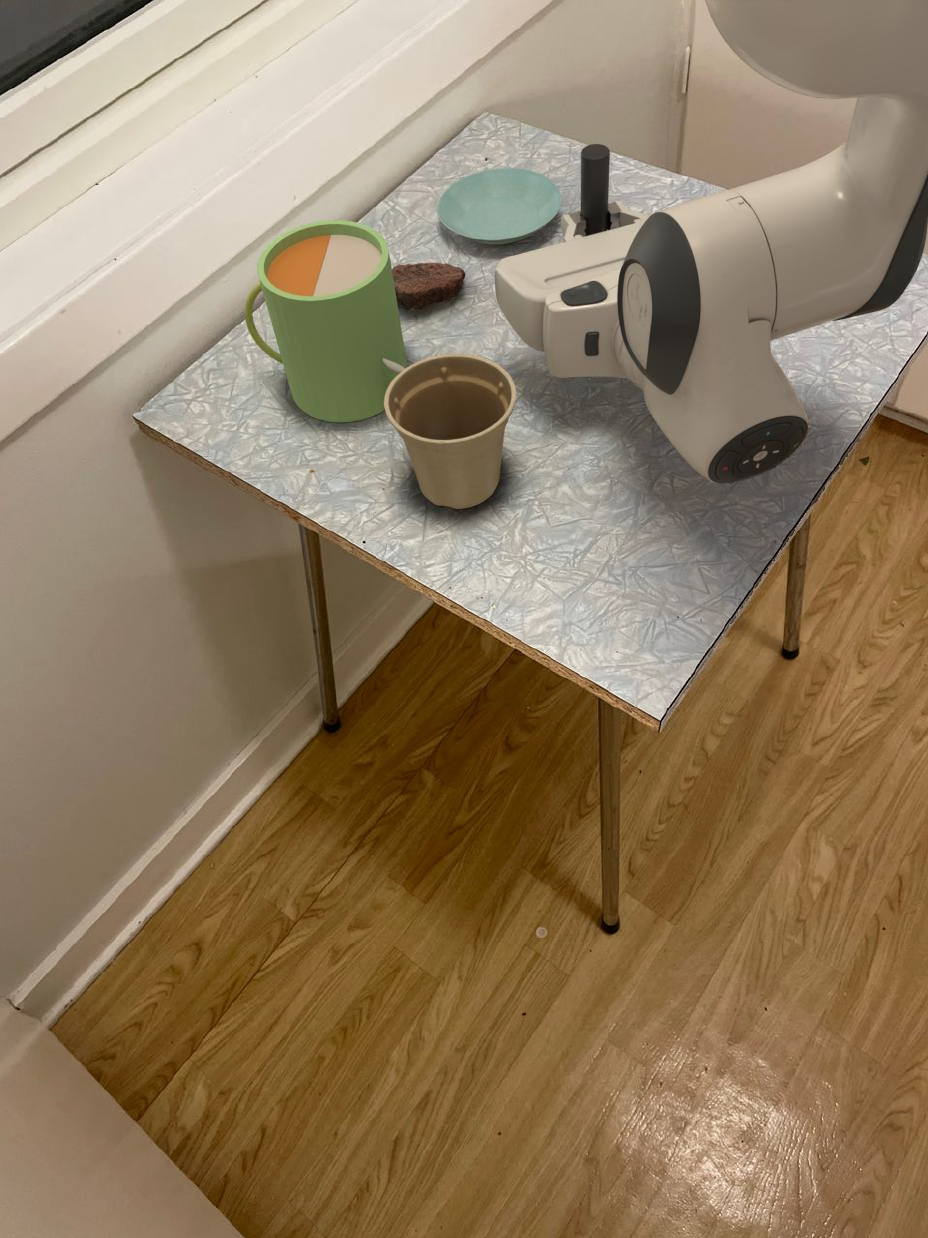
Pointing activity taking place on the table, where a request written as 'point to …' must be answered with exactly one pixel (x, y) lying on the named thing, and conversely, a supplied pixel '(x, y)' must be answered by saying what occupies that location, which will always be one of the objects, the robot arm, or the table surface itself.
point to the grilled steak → (426, 284)
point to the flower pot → (453, 424)
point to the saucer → (499, 205)
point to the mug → (331, 317)
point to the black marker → (595, 187)
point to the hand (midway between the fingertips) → (589, 215)
